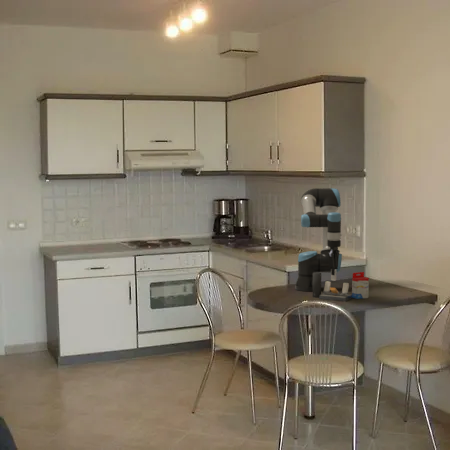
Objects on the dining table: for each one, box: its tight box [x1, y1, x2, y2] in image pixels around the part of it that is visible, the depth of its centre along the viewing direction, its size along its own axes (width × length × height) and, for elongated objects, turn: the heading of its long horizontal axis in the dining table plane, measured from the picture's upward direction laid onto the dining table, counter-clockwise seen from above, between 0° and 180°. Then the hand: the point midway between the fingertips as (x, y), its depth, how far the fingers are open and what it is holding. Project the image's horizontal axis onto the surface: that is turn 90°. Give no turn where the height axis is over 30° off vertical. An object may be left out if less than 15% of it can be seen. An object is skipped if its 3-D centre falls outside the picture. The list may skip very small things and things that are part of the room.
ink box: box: [351, 271, 370, 300], centre depth 414 cm, size 8×5×15 cm, turn 116°
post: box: [312, 272, 322, 299], centre depth 417 cm, size 5×5×14 cm
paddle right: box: [341, 282, 350, 295], centre depth 410 cm, size 3×2×7 cm, turn 61°
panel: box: [318, 292, 353, 302], centre depth 412 cm, size 16×11×3 cm
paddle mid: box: [330, 286, 340, 294], centre depth 410 cm, size 3×2×7 cm
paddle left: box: [323, 281, 332, 293], centre depth 416 cm, size 3×2×7 cm, turn 61°
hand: (333, 280), depth 409 cm, fingers closed
